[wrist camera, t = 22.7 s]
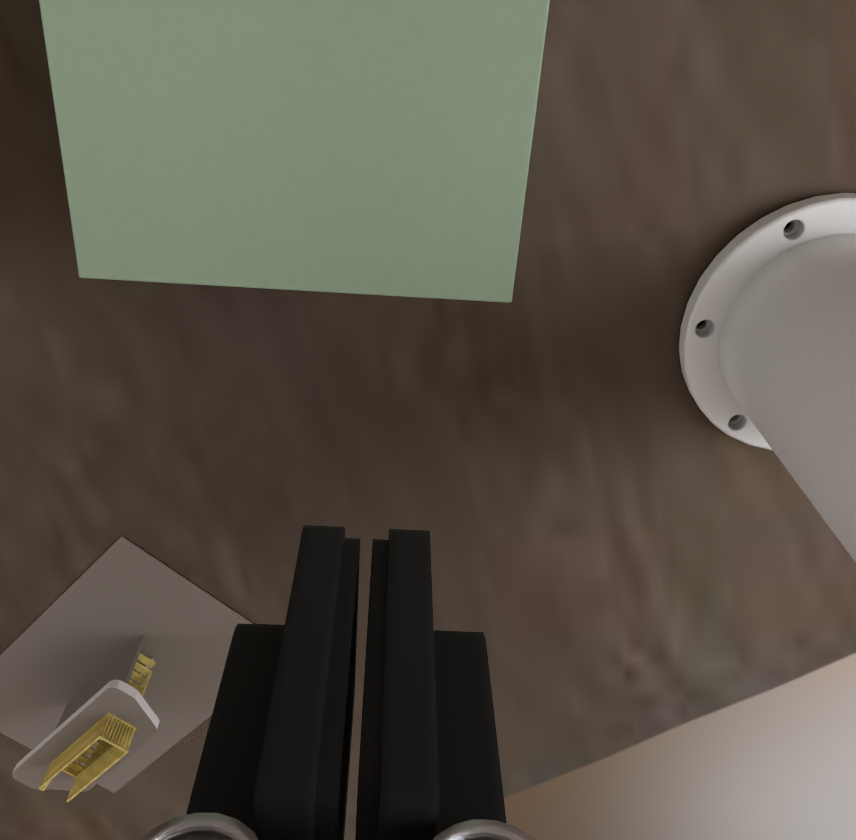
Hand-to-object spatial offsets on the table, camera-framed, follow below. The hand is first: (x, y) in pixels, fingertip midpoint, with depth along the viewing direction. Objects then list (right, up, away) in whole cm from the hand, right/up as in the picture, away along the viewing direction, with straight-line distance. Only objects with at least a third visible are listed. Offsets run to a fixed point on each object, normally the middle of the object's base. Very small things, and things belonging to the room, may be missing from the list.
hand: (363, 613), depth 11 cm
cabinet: (-3, +19, +20) cm, 28 cm away
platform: (-18, -13, +38) cm, 44 cm away
